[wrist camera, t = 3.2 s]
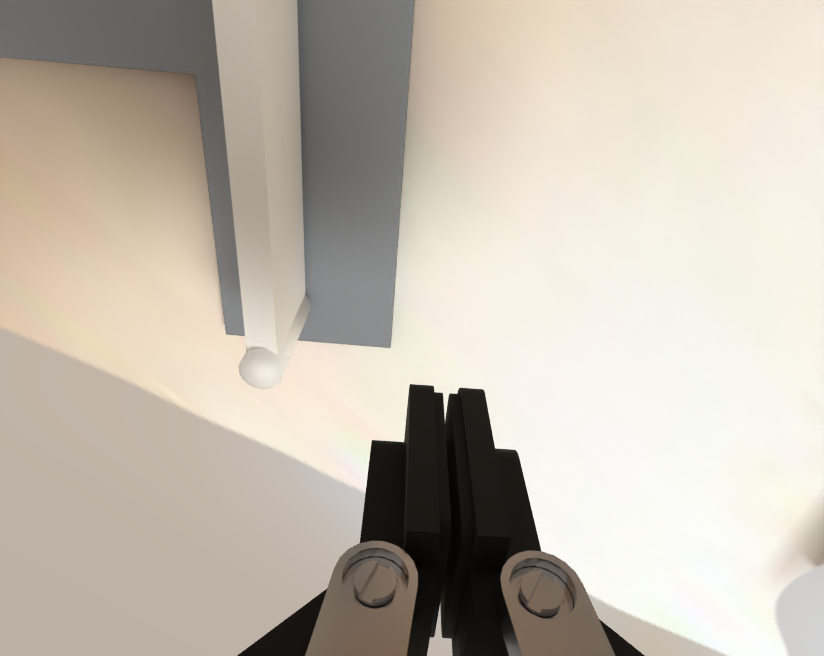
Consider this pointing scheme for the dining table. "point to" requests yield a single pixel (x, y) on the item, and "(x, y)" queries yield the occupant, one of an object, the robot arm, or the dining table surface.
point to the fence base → (320, 132)
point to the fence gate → (264, 176)
